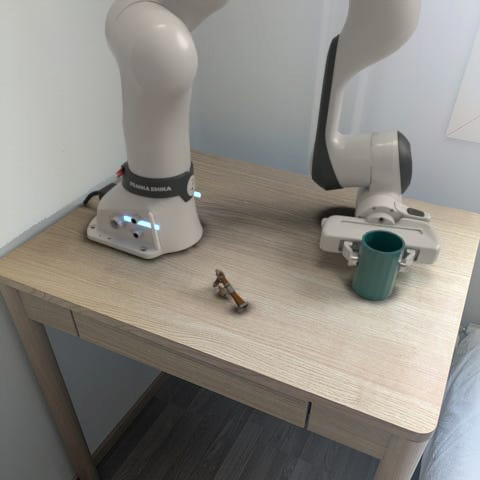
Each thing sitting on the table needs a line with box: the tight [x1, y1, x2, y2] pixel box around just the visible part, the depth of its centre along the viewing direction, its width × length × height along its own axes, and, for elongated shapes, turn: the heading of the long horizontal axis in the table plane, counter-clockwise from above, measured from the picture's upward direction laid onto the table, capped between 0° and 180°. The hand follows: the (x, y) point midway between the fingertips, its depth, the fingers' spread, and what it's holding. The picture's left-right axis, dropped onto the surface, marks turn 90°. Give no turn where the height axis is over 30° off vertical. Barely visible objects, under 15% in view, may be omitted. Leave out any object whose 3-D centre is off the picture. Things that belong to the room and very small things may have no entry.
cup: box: [351, 230, 405, 301], centre depth 82 cm, size 7×7×10 cm
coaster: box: [320, 206, 356, 223], centre depth 102 cm, size 10×10×1 cm
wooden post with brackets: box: [212, 268, 250, 313], centre depth 81 cm, size 2×8×4 cm, turn 40°
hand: (378, 266), depth 81 cm, fingers closed on cup, 7 cm apart
